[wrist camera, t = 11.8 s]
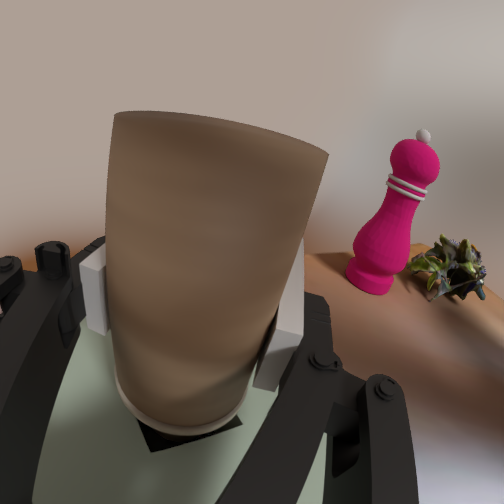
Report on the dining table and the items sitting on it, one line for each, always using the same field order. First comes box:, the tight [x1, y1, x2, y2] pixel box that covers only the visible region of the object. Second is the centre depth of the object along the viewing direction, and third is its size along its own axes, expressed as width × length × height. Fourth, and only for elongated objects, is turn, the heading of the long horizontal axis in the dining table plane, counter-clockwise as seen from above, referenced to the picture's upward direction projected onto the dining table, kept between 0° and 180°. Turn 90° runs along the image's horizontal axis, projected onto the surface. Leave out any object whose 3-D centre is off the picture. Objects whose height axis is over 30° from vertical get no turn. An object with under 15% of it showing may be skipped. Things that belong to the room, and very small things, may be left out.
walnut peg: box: [105, 111, 329, 442], centre depth 10 cm, size 5×5×13 cm
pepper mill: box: [345, 129, 440, 295], centre depth 31 cm, size 7×7×20 cm
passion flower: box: [407, 234, 486, 302], centre depth 35 cm, size 11×11×12 cm
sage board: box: [32, 317, 327, 504], centre depth 13 cm, size 18×16×4 cm
